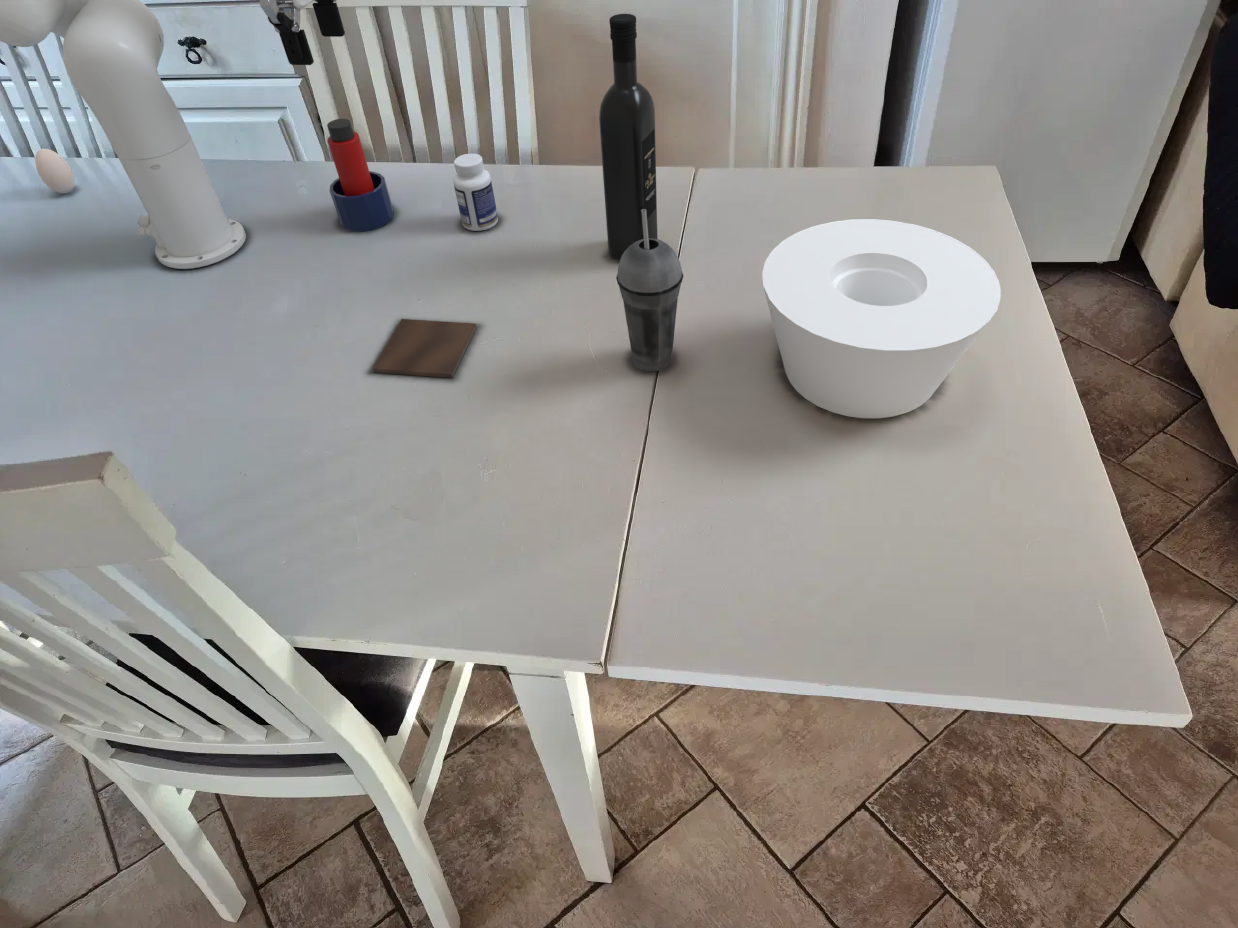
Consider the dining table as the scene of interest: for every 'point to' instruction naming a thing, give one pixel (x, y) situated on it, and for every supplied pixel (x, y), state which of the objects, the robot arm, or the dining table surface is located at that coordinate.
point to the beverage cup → (650, 299)
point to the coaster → (425, 348)
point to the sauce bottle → (349, 158)
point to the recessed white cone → (875, 312)
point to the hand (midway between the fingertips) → (318, 49)
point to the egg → (54, 171)
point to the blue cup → (363, 206)
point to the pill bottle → (474, 193)
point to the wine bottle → (627, 145)
